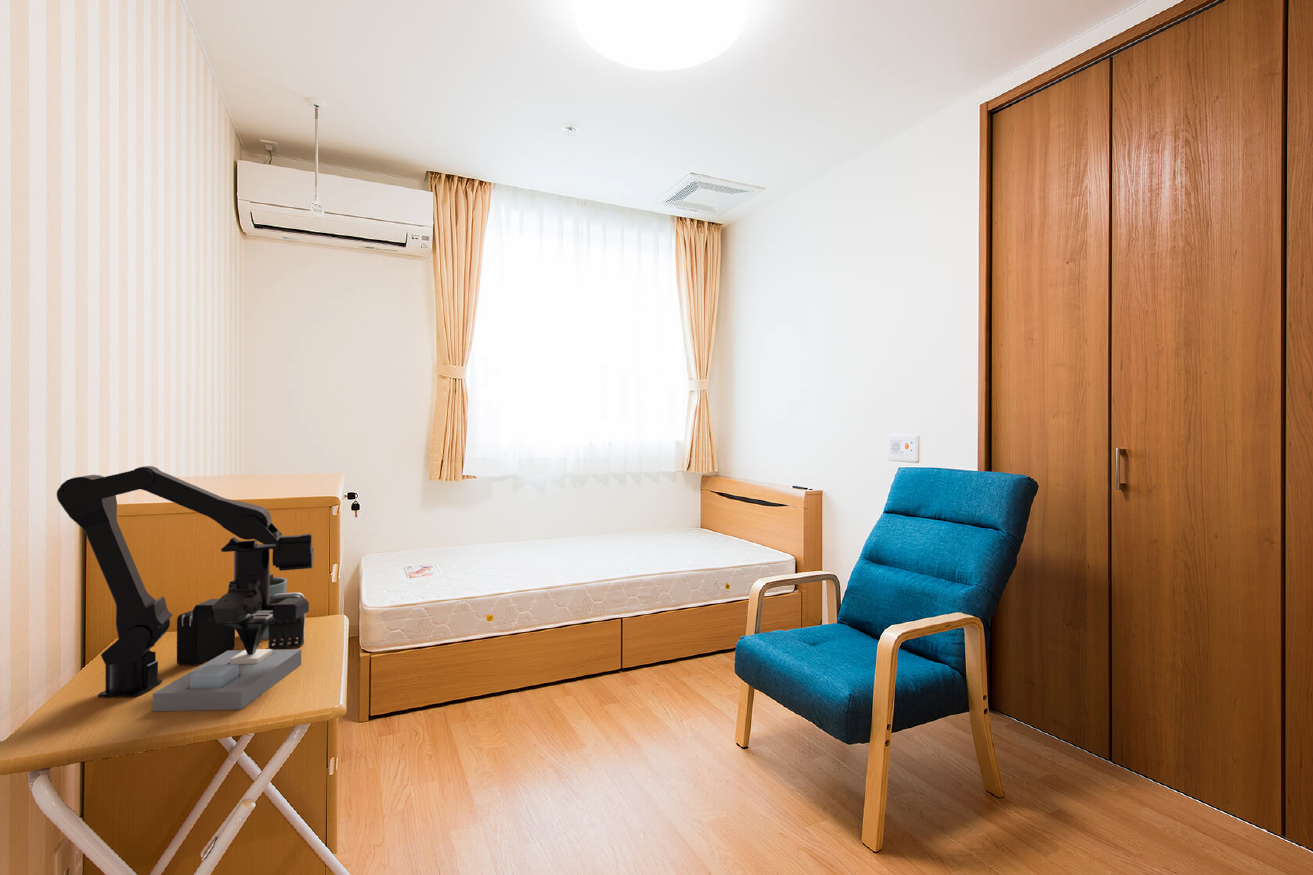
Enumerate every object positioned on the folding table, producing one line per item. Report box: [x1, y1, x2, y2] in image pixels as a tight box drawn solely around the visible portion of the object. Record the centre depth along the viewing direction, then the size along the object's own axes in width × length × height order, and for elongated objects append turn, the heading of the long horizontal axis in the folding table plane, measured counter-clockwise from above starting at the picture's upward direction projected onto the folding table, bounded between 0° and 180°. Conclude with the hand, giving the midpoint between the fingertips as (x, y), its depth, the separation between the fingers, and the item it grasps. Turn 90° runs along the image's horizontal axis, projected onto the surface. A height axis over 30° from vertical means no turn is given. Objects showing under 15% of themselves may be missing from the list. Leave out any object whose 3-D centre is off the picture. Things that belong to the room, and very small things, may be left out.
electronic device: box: [176, 610, 236, 666], centre depth 126 cm, size 4×10×10 cm, turn 174°
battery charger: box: [267, 592, 306, 650], centre depth 132 cm, size 7×4×11 cm, turn 111°
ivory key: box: [230, 648, 273, 664], centre depth 117 cm, size 5×5×2 cm
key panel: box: [152, 648, 302, 712], centre depth 112 cm, size 14×20×3 cm
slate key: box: [190, 664, 239, 689], centre depth 106 cm, size 5×5×2 cm
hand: (251, 653), depth 117 cm, fingers closed, pressing on ivory key
